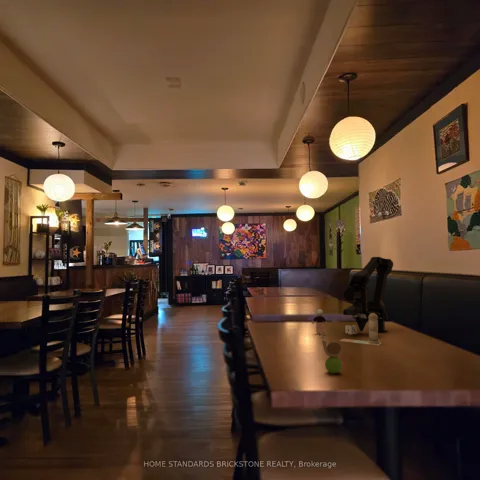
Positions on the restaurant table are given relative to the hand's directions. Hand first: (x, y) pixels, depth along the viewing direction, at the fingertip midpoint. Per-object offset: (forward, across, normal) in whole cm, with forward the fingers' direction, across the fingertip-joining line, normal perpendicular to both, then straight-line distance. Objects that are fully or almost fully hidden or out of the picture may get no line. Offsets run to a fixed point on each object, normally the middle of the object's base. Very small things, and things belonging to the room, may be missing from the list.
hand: (361, 331), depth 189 cm
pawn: (+2, +17, -12) cm, 21 cm away
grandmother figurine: (+2, -12, -16) cm, 21 cm away
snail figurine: (+2, +38, -59) cm, 71 cm away
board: (+2, +12, -14) cm, 19 cm away
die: (+2, -6, 0) cm, 7 cm away
